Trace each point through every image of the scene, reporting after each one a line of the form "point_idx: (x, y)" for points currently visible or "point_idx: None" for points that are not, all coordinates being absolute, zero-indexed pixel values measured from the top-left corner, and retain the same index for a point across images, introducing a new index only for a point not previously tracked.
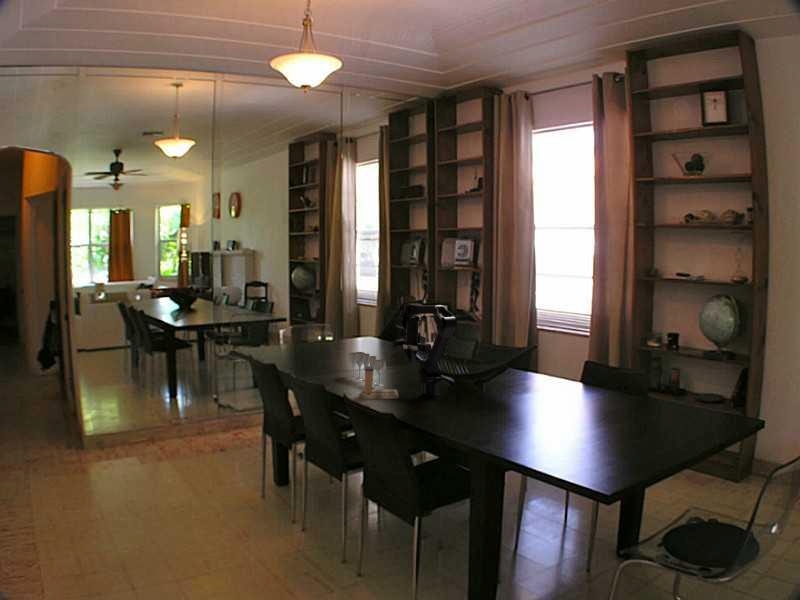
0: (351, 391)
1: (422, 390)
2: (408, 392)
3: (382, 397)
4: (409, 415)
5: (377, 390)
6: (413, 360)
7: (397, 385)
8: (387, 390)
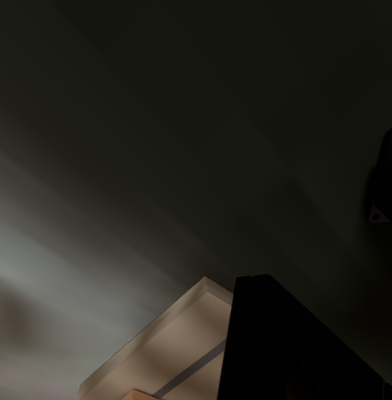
0: (21, 394)
1: (381, 211)
2: (258, 218)
3: None
4: None
5: (145, 362)
6: (306, 321)
7: (38, 126)
8: (184, 332)
